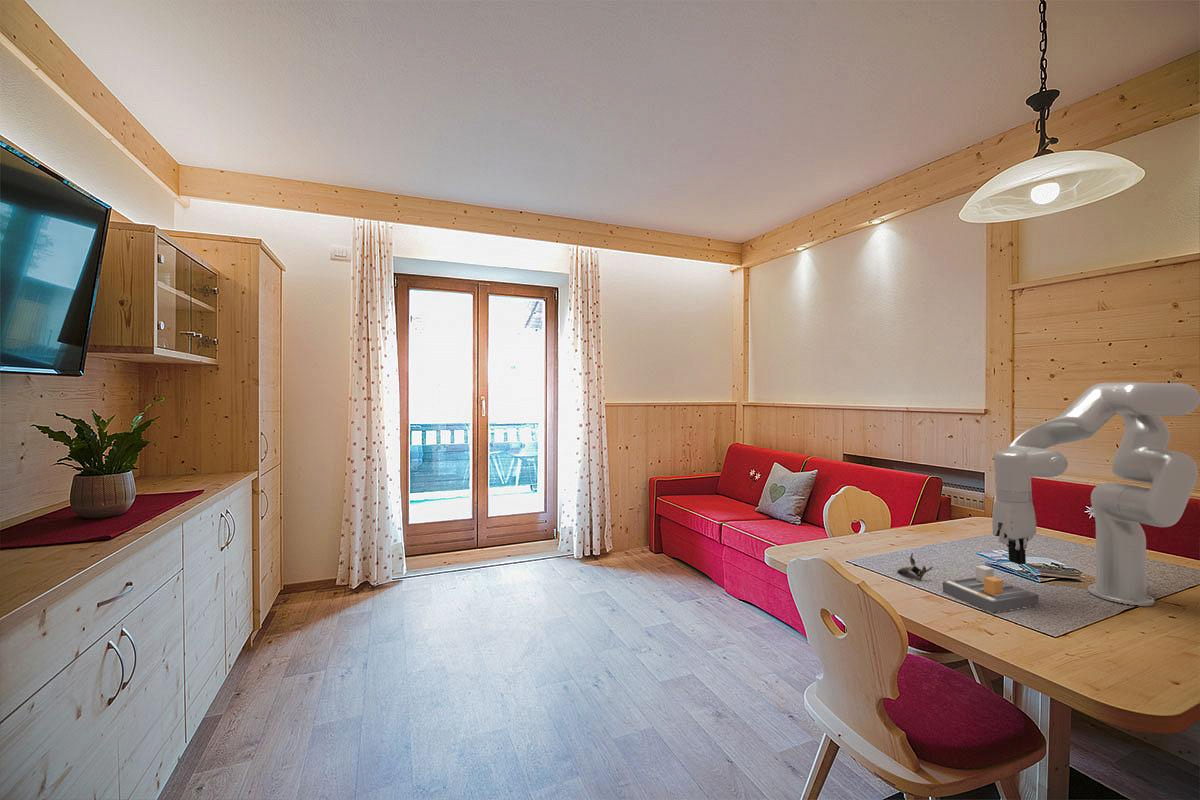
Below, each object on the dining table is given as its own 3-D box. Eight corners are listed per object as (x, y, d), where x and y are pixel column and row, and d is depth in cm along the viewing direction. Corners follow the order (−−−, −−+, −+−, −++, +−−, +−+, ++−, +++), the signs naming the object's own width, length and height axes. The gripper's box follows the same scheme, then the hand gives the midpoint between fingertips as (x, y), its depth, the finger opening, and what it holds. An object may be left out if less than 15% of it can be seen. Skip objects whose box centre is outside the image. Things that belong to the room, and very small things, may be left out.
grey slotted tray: (986, 585, 144) (986, 573, 144) (1038, 605, 131) (1038, 591, 131) (942, 591, 140) (942, 578, 140) (992, 613, 127) (992, 598, 127)
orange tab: (992, 590, 133) (992, 576, 133) (1003, 595, 130) (1003, 580, 130) (983, 592, 132) (983, 577, 132) (994, 596, 130) (994, 581, 130)
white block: (984, 578, 141) (983, 565, 141) (993, 582, 139) (993, 568, 139) (975, 580, 141) (975, 566, 141) (985, 583, 138) (985, 569, 138)
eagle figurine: (938, 576, 149) (915, 560, 158) (929, 559, 148) (907, 544, 156) (917, 589, 149) (896, 573, 158) (908, 573, 148) (887, 557, 156)
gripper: (1019, 490, 138) (1023, 554, 138) (978, 496, 134) (982, 562, 135) (1049, 495, 131) (1053, 562, 131) (1007, 502, 127) (1011, 571, 128)
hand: (1017, 562), depth 133 cm, fingers closed
